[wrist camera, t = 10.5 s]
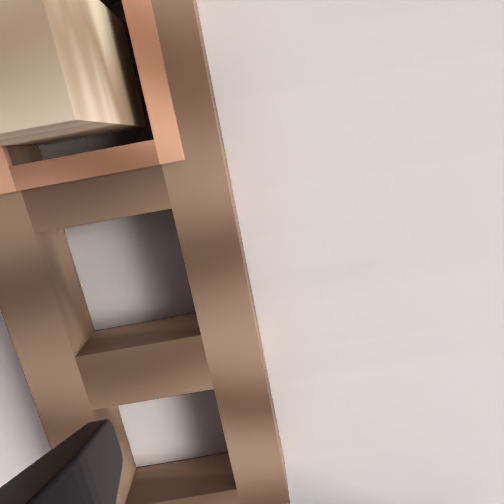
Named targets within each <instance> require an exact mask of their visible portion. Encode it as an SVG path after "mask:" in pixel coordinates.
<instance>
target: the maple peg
mask: <svg viewBox="0 0 504 504" xmlns="http://www.w3.org/2000/svg"><path fill="white" fill-rule="evenodd" d="M142 127H147V124H146V120H145V115H144V111H143V106H142V102H141V98H140V93H139V89H138V85H137V80H136V76H135V72H134V67H133V63H132V59H131V54H130V50H129V45H128V41H127V37H126V32H125V28H124V24H123V22H122V21H121V20H120V19H119V18H118V17H117V16H116V15H115V14H113V13H112V12H111V11H110V10H109V9H108V8H107V7H106V6H105V5H104V4H103V3H102V2H101V1H100V0H0V146H4V145H28V144H52V143H59V142H65V141H71V140H76V139H82V138H87V137H93V136H98V135H104V134H109V133H115V132H120V131H126V130H131V129H137V128H142Z"/></svg>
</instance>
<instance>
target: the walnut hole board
mask: <svg viewBox="0 0 504 504" xmlns="http://www.w3.org/2000/svg"><path fill="white" fill-rule="evenodd" d="M100 1H101V2H102V3H103V4H106V3H111V2H116V1H121V0H100ZM122 4H123V9H124V13H125V17H126V21H127V26H128V30H129V34H130V39H131V43H132V47H133V51H134V56H135V60H136V64H137V69H138V73H139V77H140V81H141V86H142V90H143V94H144V99H145V103H146V107H147V111H148V116H149V120H150V124H151V129H152V133H153V137H154V140H148V141H143V142H138V143H132V144H127V145H122V146H116V147H111V148H106V149H100V150H95V151H90V152H84V153H79V154H74V155H68V156H63V157H58V158H52V159H47V160H42V157H41V154H40V150H39V147H38V144H28V145H4V146H0V309H1V312H2V315H3V317H4V320H5V323H6V326H7V328H8V331H9V334H10V337H11V339H12V342H13V345H14V348H15V350H16V353H17V356H18V359H19V361H20V364H21V367H22V370H23V372H24V375H25V378H26V381H27V383H28V386H29V389H30V392H31V394H32V397H33V400H34V403H35V405H36V408H37V411H38V414H39V416H40V419H41V422H42V425H43V427H44V430H45V433H46V435H47V438H48V441H49V444H50V446H51V449H53V448H55V447H56V446H57V445H59V444H60V443H61V442H63V441H64V440H65V439H67V438H68V437H69V436H71V435H72V434H73V433H75V432H76V431H78V430H79V429H80V428H82V427H83V426H84V425H86V424H87V423H89V422H92V421H97V420H103V419H108V420H110V421H111V422H112V424H113V426H114V429H115V432H116V436H117V439H118V442H119V445H120V448H121V451H122V456H123V466H122V472H121V477H120V483H119V488H118V494H117V499H116V504H290V500H289V492H288V485H287V477H286V470H285V463H284V457H283V452H282V447H281V442H280V436H279V431H278V426H277V421H276V416H275V410H274V405H273V400H272V395H271V390H270V384H269V379H268V374H267V369H266V363H265V358H264V353H263V348H262V343H261V337H260V332H259V327H258V322H257V316H256V311H255V306H254V301H253V296H252V290H251V285H250V280H249V275H248V270H247V264H246V259H245V254H244V249H243V243H242V238H241V233H240V228H239V223H238V217H237V212H236V207H235V202H234V196H233V191H232V186H231V181H230V176H229V170H228V165H227V160H226V155H225V149H224V144H223V139H222V134H221V129H220V123H219V118H218V113H217V108H216V103H215V97H214V92H213V87H212V82H211V76H210V71H209V66H208V61H207V56H206V50H205V45H204V40H203V35H202V29H201V24H200V19H199V14H198V9H197V3H196V0H122ZM166 209H172V212H173V216H174V221H175V225H176V229H177V233H178V238H179V242H180V246H181V251H182V255H183V259H184V264H185V268H186V272H187V277H188V281H189V285H190V289H191V294H192V298H193V302H194V307H195V311H196V313H193V314H187V315H182V316H176V317H170V318H165V319H159V320H154V321H148V322H142V323H137V324H131V325H125V326H120V327H114V328H108V329H103V330H97V331H94V327H93V324H92V321H91V318H90V314H89V311H88V308H87V304H86V301H85V298H84V295H83V291H82V288H81V285H80V282H79V278H78V275H77V272H76V268H75V265H74V262H73V259H72V255H71V252H70V249H69V245H68V242H67V239H66V236H65V232H64V229H63V228H68V227H74V226H79V225H84V224H90V223H95V222H101V221H106V220H112V219H117V218H123V217H128V216H134V215H139V214H145V213H150V212H156V211H161V210H166ZM211 389H214V393H215V397H216V401H217V406H218V410H219V414H220V419H221V423H222V427H223V432H224V436H225V440H226V444H227V449H228V453H223V454H217V455H211V456H205V457H199V458H193V459H187V460H181V461H175V462H169V463H163V464H157V465H151V466H145V467H139V468H136V465H135V462H134V459H133V455H132V452H131V449H130V446H129V442H128V439H127V436H126V432H125V429H124V426H123V423H122V419H121V416H120V413H119V410H118V405H124V404H130V403H136V402H142V401H147V400H153V399H159V398H165V397H171V396H176V395H182V394H188V393H194V392H200V391H206V390H211Z"/></svg>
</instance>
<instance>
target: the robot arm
mask: <svg viewBox="0 0 504 504" xmlns="http://www.w3.org/2000/svg"><path fill="white" fill-rule="evenodd" d="M122 466H123V456H122V451H121V448H120V445H119V442H118V439H117V436H116V432H115V429H114V426H113V424H112V422H111V421H110V420H108V419H103V420H97V421H92V422H89V423H87V424H86V425H84V426H83V427H82V428H80V429H79V430H78V431H76V432H75V433H73V434H72V435H71V436H69V437H68V438H67V439H65V440H64V441H63V442H61V443H60V444H59V445H57V446H56V447H55V448H53V449H52V450H50V451H49V452H48V453H46V454H45V455H44V456H42V457H41V458H40V459H38V460H37V461H36V462H34V463H33V464H32V465H30V466H29V467H27V468H26V469H25V470H23V471H22V472H21V473H19V474H18V475H17V476H15V477H14V478H13V479H11V480H10V481H9V482H7V483H6V484H5V485H3V486H2V487H0V504H116V499H117V494H118V488H119V483H120V477H121V472H122Z"/></svg>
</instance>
